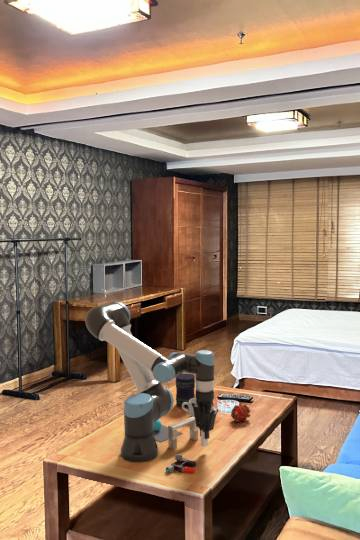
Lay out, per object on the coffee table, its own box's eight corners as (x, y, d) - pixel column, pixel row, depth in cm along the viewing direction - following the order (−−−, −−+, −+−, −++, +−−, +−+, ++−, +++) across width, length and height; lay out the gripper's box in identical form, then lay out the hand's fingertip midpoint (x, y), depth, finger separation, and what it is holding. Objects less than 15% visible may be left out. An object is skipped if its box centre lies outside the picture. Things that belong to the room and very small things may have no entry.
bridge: (198, 438, 232) (197, 418, 231) (173, 449, 222) (173, 427, 222) (193, 436, 234) (192, 416, 234) (168, 447, 225) (168, 425, 224)
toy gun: (162, 473, 202) (162, 461, 202) (183, 462, 212) (182, 450, 211) (182, 481, 196) (182, 468, 196) (202, 469, 205) (202, 457, 205)
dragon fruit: (248, 419, 257) (236, 431, 248) (235, 407, 261) (222, 418, 251) (257, 408, 253) (244, 420, 244) (243, 396, 256) (230, 407, 247)
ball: (153, 435, 239) (156, 425, 237) (145, 427, 242) (148, 418, 240) (162, 431, 243) (165, 422, 241) (155, 424, 246) (158, 414, 244)
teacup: (211, 413, 262) (211, 397, 262) (210, 421, 252) (210, 405, 251) (183, 412, 264) (183, 396, 263) (181, 421, 253) (180, 404, 252)
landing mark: (160, 442, 229) (160, 441, 229) (141, 433, 239) (141, 433, 239) (182, 433, 238) (182, 433, 238) (163, 425, 248) (163, 425, 248)
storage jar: (177, 401, 280) (177, 373, 279) (196, 401, 279) (195, 373, 278) (174, 407, 271) (174, 379, 269) (194, 408, 269) (193, 379, 268)
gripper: (223, 391, 214) (222, 447, 217) (199, 383, 224) (199, 437, 226) (210, 395, 209) (209, 453, 212) (186, 387, 219) (186, 443, 221)
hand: (204, 445), depth 219 cm, fingers closed
